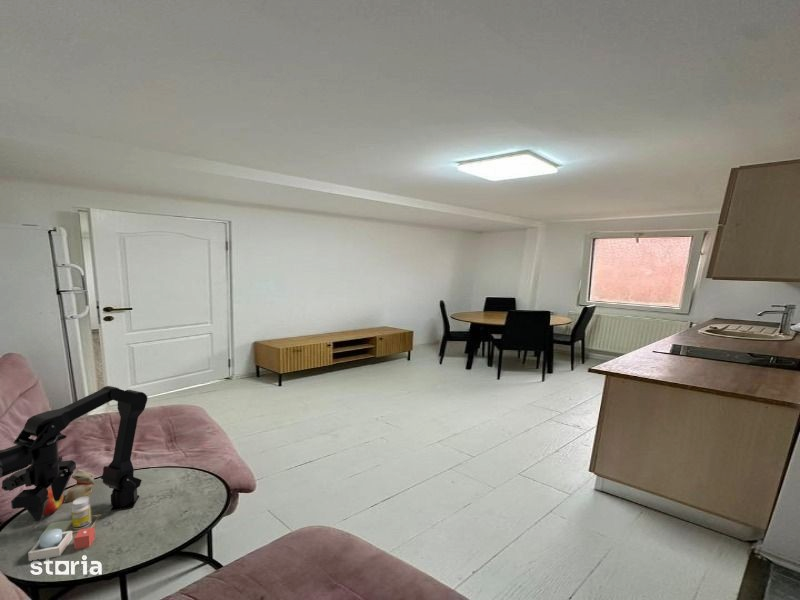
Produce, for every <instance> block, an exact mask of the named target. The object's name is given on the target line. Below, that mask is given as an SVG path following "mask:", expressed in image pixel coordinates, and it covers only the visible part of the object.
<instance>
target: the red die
mask: <svg viewBox="0 0 800 600" xmlns="http://www.w3.org/2000/svg"><path fill="white" fill-rule="evenodd" d="M95 528H96V527H95V526H93V528H90V527H89V528H87V527H85V528H82V529H78V530H79V532H77V533H76V535H75V536H74V537H73V543H74V544H73V545H74V550H80V549H85V548H90V547H91V546H92V545H93V542H94V541H95V540H96V531H95V530H96V529H95Z"/></svg>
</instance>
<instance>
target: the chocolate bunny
mask: <svg viewBox="0 0 800 600" xmlns="http://www.w3.org/2000/svg"><path fill="white" fill-rule="evenodd" d="M71 479H73V480H74V481H75V482H76V484H75V485H74V486H72V487H71V488H69V490H68V492H67V493H66V496H65V497H64V503H71V502H73V501H74V500H76V499H77V498H80V497H84V496H87V497H88V496H89V495H91V494H92V493H93V487H94V485H95V483H94V481H95V474H94V473H93V472H86V471H85V470H82V469H80V468H79V469H77V470H76V471H75V472H74V473H73V474H72V475H71Z"/></svg>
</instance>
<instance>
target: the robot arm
mask: <svg viewBox="0 0 800 600" xmlns="http://www.w3.org/2000/svg"><path fill="white" fill-rule="evenodd" d="M112 401H114V402H117V411H118V414H119V416H120V419H119V424H118V429H117V436H116V441H115V446H114V451H113V455H112V456H113V457H112V461H111V462H110V463H109V464H108V465H107V466H106V465H104V467H103V469H102V475H101V477H100V479H102V484H104V485H105V486H107V487H108V488H109V489H112V492H111V494H110V506H111V508H110V511H111V512H113V511H119V510H121V511H122V510H127V509H128V510H129V509H133V508H134V507H135V505H136V504H137V502H138V500H139V499H140V495H139V494H138V488H139V487H141V484H142V481H143V480H142V479H141V478H138V477H135V476H134V475H135V473H134V469H135V468H134V466H133V463H132V459H131V458H132V452H133V447H134V441H135V437H136V432H137V426H138V425H137V424H138V420H139V417H140V416H141V414H142V413H143V412H144V411H145V408H146V405H147V402H148V395H147V394H146V393H144V392H143V391H138V390H132V389H125V390H123V389H120V388H119V387H115V386H112V385H106V386H104V387H102V388H101V389H99V390H97V391H95V392H93V393H90V394H88V395H86V396H84V397H83V398H81V399H78V400H76V401H73V402H72V403H70V404H68V405H65V406H64V407H60V408H58V409H52V410H51V409H50V410H47V411H44V412H40V413H38V414H35V415H32V416H31V417H29V418H28V419H27V420H26V422H25V424H24V427H23V428H22V430H21V432H20V433H19V434H18V436H17V437H16V438H15V440H14V441H13V444H14V446H10V447H7V448H5V449H0V479H1V478H3V477H6V478H4V479H3V480H2V481H1V482H2V483H1V489H2V490H4V491H5V492H8V491H9V492H11V491H14V490H15V489H17V488H20V487H22V486H24V485H25V487H26V488H27V487H31V486H34V488H30V489H29V488H27V489H22V490H21V491H20V493H18V494H17V495H16V496H15V497H14V498H13V499H12V500H11V501H10V506H11V509H12V510H14V509H15V510H16V509H22V508H24V509H25V510H27V512H29V514H30V516H31V517H32V519H33V520H34V521H35V522H40V521H41V520H42V519H43V517H44V516H43V513H44V510H45V507H46V504H47V502H48V499H49V497H47V496H48V490H47V489H49V487H51V488H50V489H52V493H53V497H54V500H55V501H58V500H60V498H61V496H62V494H64V491H65V489H66V488H67V486H68V483H69V481H70V479H71V478H72V475H74V471H75V470H76V469H77V463H76V461H74V460H73V459H72V460H70V459H69V460H63V457H62V456H59V446H58V445H59V441H61V440H64V439H66V438H67V437H68V436H67V435H66V434H63V433H61V432H62V431H64V430H65V429H66V428H67V427H68V426H69V425H70V423H71V422H73V421H75V420H77V419H79V418H80V417H82V416H84V415H86V414H89V413H90V412H92V411H94V410H96V409H98V408H100V407H102V406H104V405H105V404H108V403H109V402H112ZM31 436H32V437H34V438H35V439H33V438H30V437H31ZM8 475H9V476H8Z"/></svg>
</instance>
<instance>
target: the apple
mask: <svg viewBox="0 0 800 600" xmlns="http://www.w3.org/2000/svg"><path fill="white" fill-rule="evenodd" d="M47 490H48V496H47V497H49V499H48V502H47V504H46V507H45V510H44V513H43V516H42V517H45V516H49V515H51V514H53V513H55V512H56V511H58V510H59V509H60V507H61V506H62V505H63V503H64V495H63V494H64V493H63V494H62V496H61V498H60V500H58V501H55V500H54V497H53V493H52V488H49V487H48V488H47Z"/></svg>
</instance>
